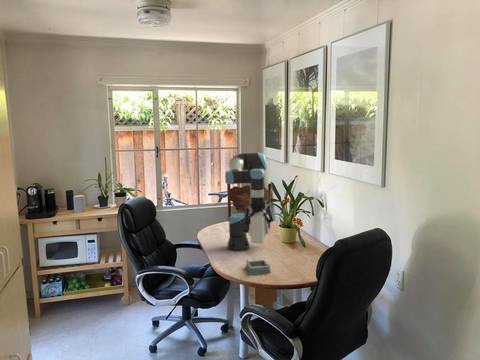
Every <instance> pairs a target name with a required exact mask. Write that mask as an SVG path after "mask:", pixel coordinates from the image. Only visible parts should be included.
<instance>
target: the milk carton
mask: <svg viewBox="0 0 480 360" xmlns="http://www.w3.org/2000/svg"><path fill="white" fill-rule="evenodd" d="M264 211H265V209H264V210H263V212H262V211H261V212H258V213H255V214H254V216H252V217H251V216H250V220H251V222H250V224H251V236H250V243H251V244H261V245H262V244H264V243H265V242H266V241H267V233H266V218H265V216H264V215H263V213H264Z"/></svg>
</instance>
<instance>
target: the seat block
mask: <svg viewBox="0 0 480 360" xmlns="http://www.w3.org/2000/svg"><path fill="white" fill-rule="evenodd" d="M245 262H246V265H245V268H246V269H247V272H248V273H249V275H250V276H251V275H253V276H254V275H260V274H261V275H262V274H268V273H269V274H270V273H272V272H271V263H268V262H267V261H266V260H265V259H259V260H249V258H246V261H245Z"/></svg>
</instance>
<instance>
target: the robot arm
mask: <svg viewBox="0 0 480 360" xmlns="http://www.w3.org/2000/svg"><path fill="white" fill-rule="evenodd" d="M266 160H267V159H266V156H265V154H264V153H263V152H251V153H249V152H248V153H247V152H246V153H243V152H242V153H239V154H236V155H235V156H233V157H232V158H231V159H230V160H229V165H228V166H229V170H228V171H225V176H224V177H225V178H224V179H225V184H227V185H228V184H230V185H234V184H235V185H237V184H239V185H240V184H249V185H250V205H249V206H247V205H246V206H245V212H238V213H233V214H231V215H230V216H229V217H228V226H229V227H228V229H229V230H228V231H229V238H228V241H227V247H226V248H227V249H228V250H229V251H233V252H238V251H239V252H241V251H247V250H248V249H250V242H249V239H248V236H249V237H251V224H250V222H251V220H250V216H251V217H252V216H254V214H255V213H258V212H261V211H262V212H263V210H264V213H263V215H264V216H265V218H266V235H269V233H270V231H269V229H270V228H271V223H272V222H274V219H273V214H272V212H271V205H270V204H265V172H266V170H267V169H268V167H267V161H266ZM265 209H266V210H267V212H266V211H265ZM247 233H248V234H247ZM247 235H248V236H247Z"/></svg>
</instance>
